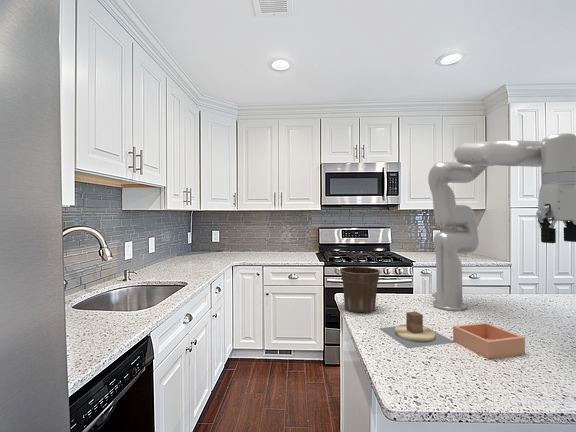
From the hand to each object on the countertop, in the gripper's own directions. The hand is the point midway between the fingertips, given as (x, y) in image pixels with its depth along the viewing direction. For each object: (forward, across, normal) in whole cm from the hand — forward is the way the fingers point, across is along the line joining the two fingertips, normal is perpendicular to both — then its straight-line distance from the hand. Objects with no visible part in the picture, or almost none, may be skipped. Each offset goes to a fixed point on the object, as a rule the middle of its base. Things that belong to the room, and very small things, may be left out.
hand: (559, 242), depth 83 cm
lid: (+30, +29, -23) cm, 48 cm away
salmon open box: (+30, +17, -9) cm, 36 cm away
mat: (+30, +29, -23) cm, 48 cm away
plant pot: (+31, +29, -54) cm, 69 cm away
